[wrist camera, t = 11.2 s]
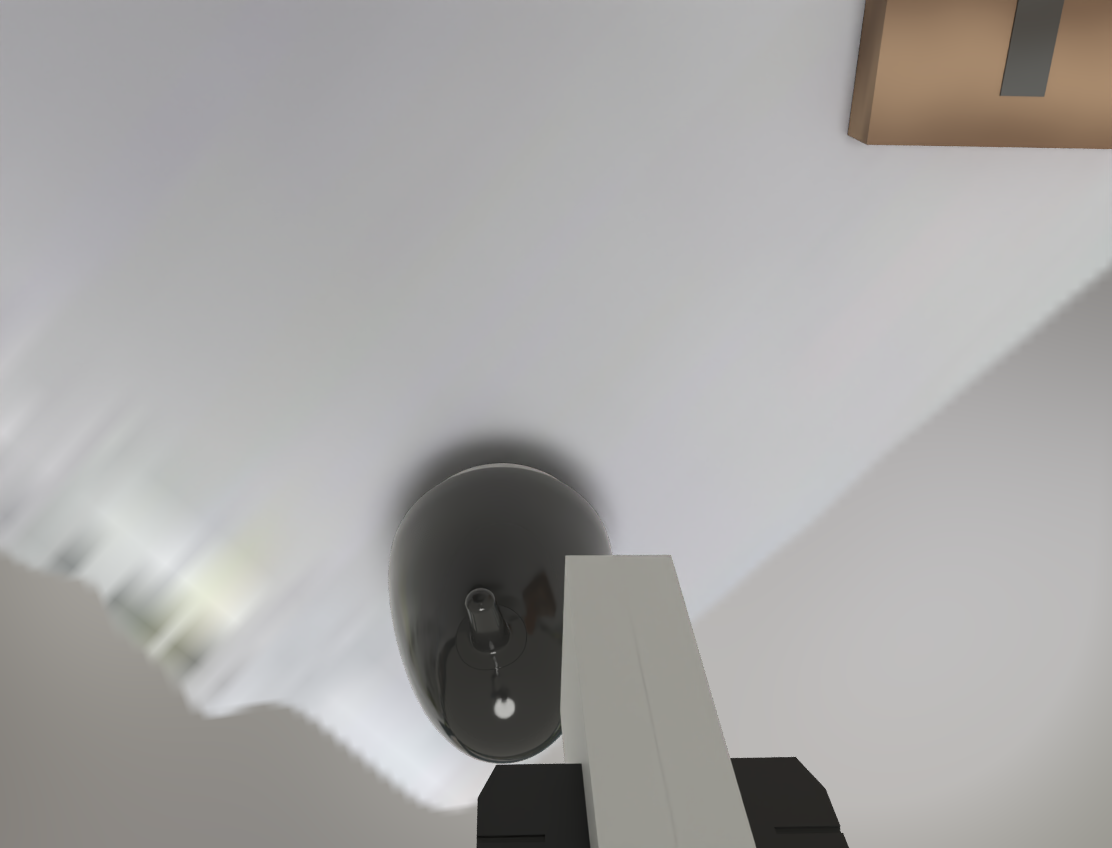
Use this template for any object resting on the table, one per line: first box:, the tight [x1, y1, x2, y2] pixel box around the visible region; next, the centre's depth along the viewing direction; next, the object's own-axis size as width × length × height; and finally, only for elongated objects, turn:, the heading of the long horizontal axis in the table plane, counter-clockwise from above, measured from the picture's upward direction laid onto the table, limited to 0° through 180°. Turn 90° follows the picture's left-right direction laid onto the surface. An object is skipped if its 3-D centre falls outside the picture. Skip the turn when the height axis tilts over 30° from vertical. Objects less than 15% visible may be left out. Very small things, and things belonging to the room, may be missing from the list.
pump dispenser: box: [388, 463, 612, 764], centre depth 44 cm, size 10×10×15 cm
